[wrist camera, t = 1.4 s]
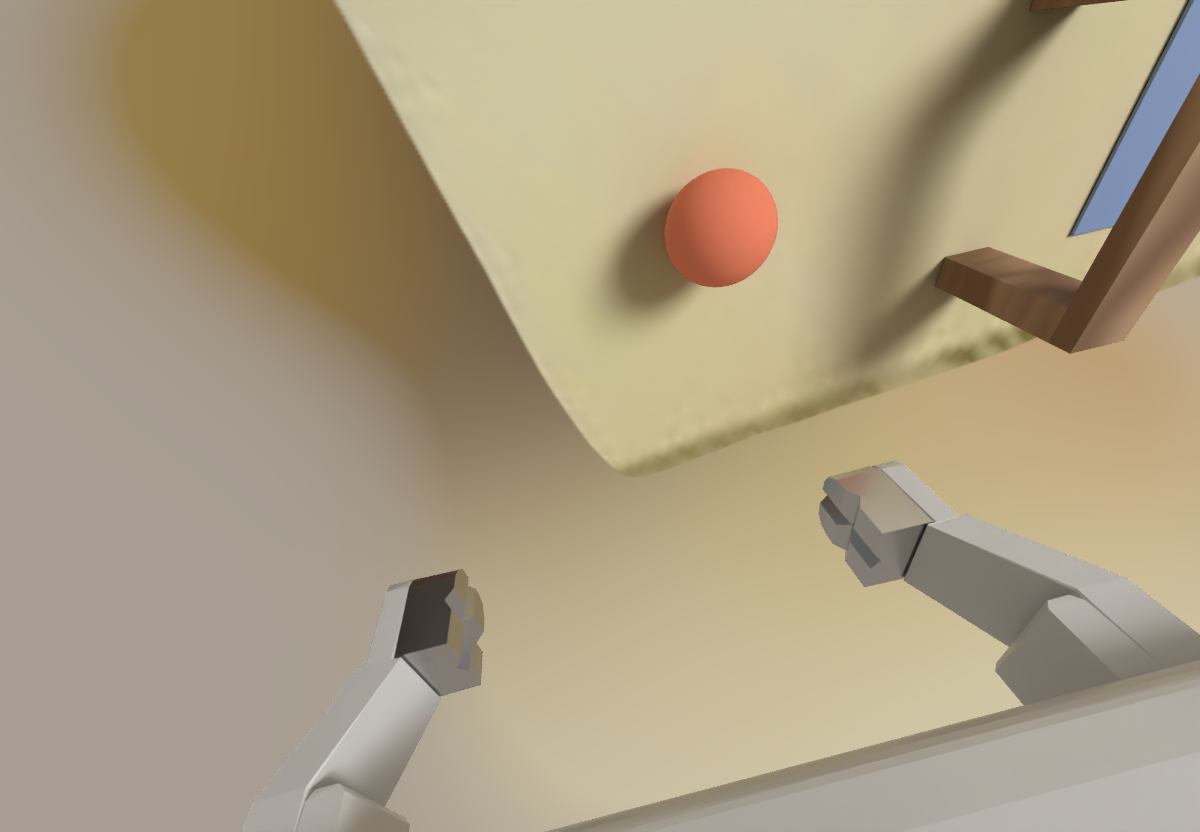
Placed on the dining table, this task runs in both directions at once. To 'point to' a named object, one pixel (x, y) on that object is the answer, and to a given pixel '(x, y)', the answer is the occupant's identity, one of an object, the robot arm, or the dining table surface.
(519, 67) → the dining table surface
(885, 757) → the robot arm
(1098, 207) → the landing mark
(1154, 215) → the bridge
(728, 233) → the ball
